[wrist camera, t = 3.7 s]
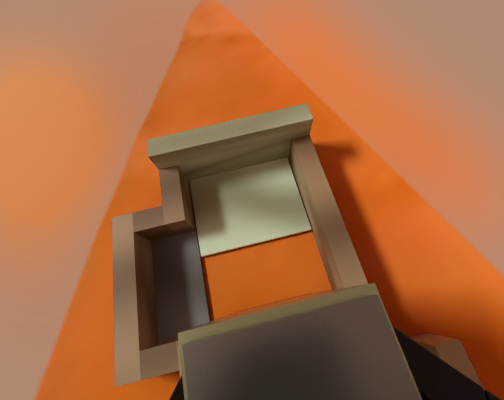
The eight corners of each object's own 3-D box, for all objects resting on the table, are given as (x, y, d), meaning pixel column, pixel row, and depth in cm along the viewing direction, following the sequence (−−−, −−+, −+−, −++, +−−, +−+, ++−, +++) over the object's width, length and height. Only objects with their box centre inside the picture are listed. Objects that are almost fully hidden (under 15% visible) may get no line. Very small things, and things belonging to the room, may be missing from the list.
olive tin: (331, 378, 13) (522, 613, 3) (252, 399, 13) (205, 709, 3) (306, 294, 14) (382, 281, 5) (236, 312, 14) (171, 335, 5)
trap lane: (526, 552, 10) (669, 693, 7) (155, 663, 10) (87, 882, 6) (337, 133, 19) (354, 92, 15) (131, 181, 18) (96, 151, 14)
